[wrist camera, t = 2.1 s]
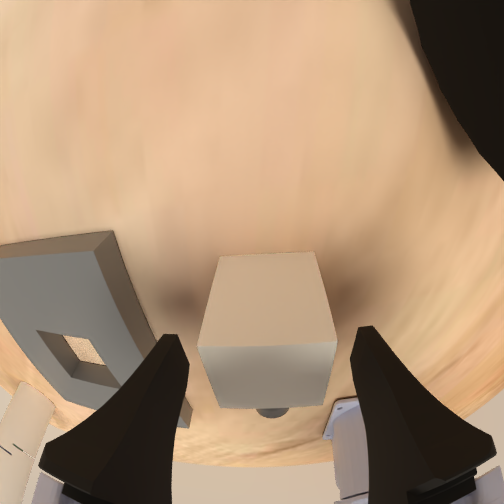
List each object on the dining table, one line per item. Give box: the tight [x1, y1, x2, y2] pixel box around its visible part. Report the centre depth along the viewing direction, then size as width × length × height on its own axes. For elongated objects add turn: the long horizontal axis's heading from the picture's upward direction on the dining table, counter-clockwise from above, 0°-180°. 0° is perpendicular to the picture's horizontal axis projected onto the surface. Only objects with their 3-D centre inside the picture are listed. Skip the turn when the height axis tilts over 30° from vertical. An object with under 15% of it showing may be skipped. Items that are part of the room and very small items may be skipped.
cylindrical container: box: [0, 381, 56, 504], centre depth 17 cm, size 7×7×25 cm
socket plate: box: [0, 231, 193, 428], centre depth 17 cm, size 18×15×2 cm
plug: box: [197, 251, 338, 418], centre depth 12 cm, size 6×4×6 cm
